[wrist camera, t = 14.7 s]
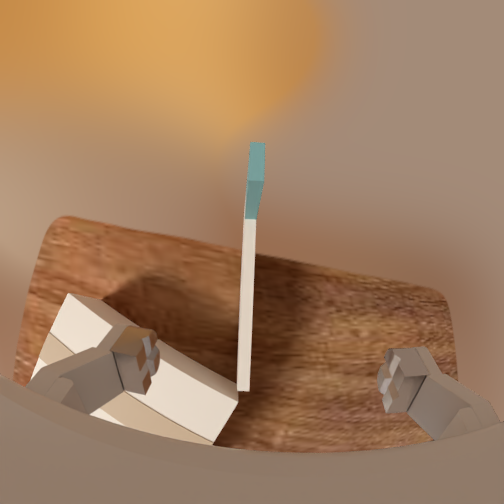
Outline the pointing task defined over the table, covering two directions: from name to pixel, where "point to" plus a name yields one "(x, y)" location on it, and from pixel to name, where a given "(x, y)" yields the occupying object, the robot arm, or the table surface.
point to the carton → (163, 382)
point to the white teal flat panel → (249, 262)
